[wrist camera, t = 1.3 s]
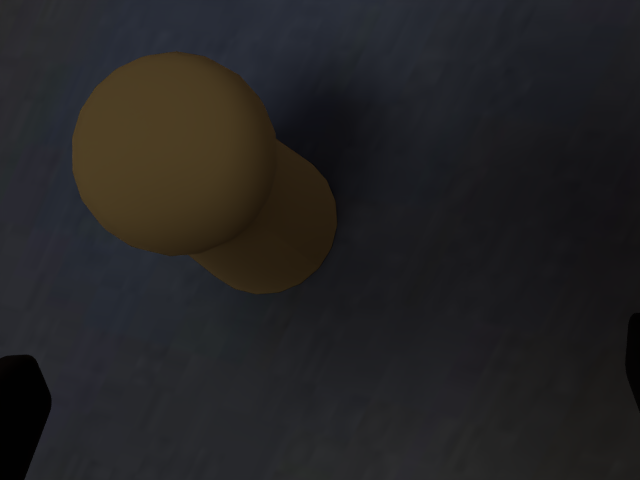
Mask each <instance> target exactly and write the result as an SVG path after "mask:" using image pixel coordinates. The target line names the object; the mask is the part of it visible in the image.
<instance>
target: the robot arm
mask: <svg viewBox="0 0 640 480" xmlns="http://www.w3.org/2000/svg"><path fill="white" fill-rule="evenodd" d="M625 366H626V374H627V378H628V381H629V384H630V386H631V389H632V392H633V395H634V398H635V400H636V403H637V406H638V409H639V411H640V313H634V314H633V315H632V316H631V318H630V320H629V324H628V336H627V348H626V359H625ZM50 410H51V394H50V392H49V389H48V387H47V384H46V382H45V380H44V377H43V375H42V372H41V370H40V368H39V365H38V363H37V361H36V359H35V358H34V357H32V356H30V355H11V356H5V357H2V358H0V480H24V479H25V476H26V474H27V471H28V468H29V466H30V463H31V461H32V458H33V455H34V453H35V450H36V447H37V445H38V442H39V439H40V437H41V434H42V431H43V429H44V426H45V424H46V421H47V418H48V416H49V413H50Z"/></svg>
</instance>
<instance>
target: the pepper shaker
mask: <svg viewBox="0 0 640 480" xmlns="http://www.w3.org/2000/svg"><path fill="white" fill-rule="evenodd" d="M72 144H73V174H74V178H75V181H76V184H77V187H78V190H79V193H80V196H81V199H82V201H83V202H84V203H85V205H86V206H87V207H88V209H89V210H90V211H91V212H92V214H93V215H94V216H95V218H96V219H97V220H98V222H99V223H100V224H101V225H102V226H103V227H104V228H105V229H106V230H107V231H109V232H110V233H112V234H113V235H115V236H116V237H118V238H119V239H121V240H122V241H124V242H125V243H127V244H128V245H130V246H132V247H135V248H139V249H143V250H147V251H151V252H155V253H159V254H164V255H168V256H177V255H187V254H188V255H189V256H190V257H192V258H193V259H194V260H195V261H197V262H198V263H199V264H200V265H202V266H203V267H204V268H205V269H207V270H208V271H209V272H210V273H212V274H213V275H214V276H215V277H217V278H218V279H220V280H222V281H223V282H225V283H226V284H228V285H229V286H231V287H232V288H234V289H237V290H241V291H245V292H249V293H253V294H265V293H278V292H282V291H284V290H286V289H289V288H291V287H293V286H296V285H298V284H300V283H302V282H303V281H304V280H305V279H307V278H308V277H309V276H310V275H311V274H312V273H314V272H315V271H316V270H317V269H318V268H319V267H320V266H321V264H322V262H323V261H324V259H325V257H326V256H327V254H328V253H329V251H330V249H331V248H332V244H333V240H334V236H335V232H336V228H337V214H336V201H335V199H334V197H333V194H332V192H331V189H330V187H329V185H328V182H327V180H326V179H325V178H324V177H323V176H322V175H321V173H320V172H319V171H318V170H317V169H316V168H315V167H314V166H313V164H312V163H310V162H309V161H307V160H306V159H304V158H303V157H301V156H300V155H299V154H297V153H296V152H294V151H293V150H291V149H290V148H288V147H287V146H286V145H284V144H283V143H281V142H280V141H278V140H277V139H276V134H275V131H274V128H273V126H272V123H271V121H270V118H269V116H268V114H267V111H266V109H265V106H264V105H263V103H262V101H261V100H260V98H259V97H258V96H257V94H256V93H255V92H254V91H253V90H252V89H251V88H250V87H249V85H248V84H247V83H246V82H245V81H244V80H243V79H242V78H241V76H240V75H238V74H236V73H234V72H233V71H231V70H229V69H227V68H225V67H224V66H222V65H220V64H218V63H216V62H215V61H213V60H211V59H209V58H207V57H205V56H200V55H194V54H188V53H182V52H177V51H176V52H169V53H162V54H155V55H148V56H144V57H141V58H139V59H137V60H134V61H132V62H130V63H128V64H126V65H124V66H122V67H119V68H117V69H116V70H115V71H113V72H112V73H111V74H110V75H109V76H108V77H107V78H105V79H104V80H103V81H102V82H101V83H100V84H99V85H97V86H96V87H95V89H94V90H93V92H92V93H91V95H90V97H89V98H88V100H87V101H86V103H85V104H84V106H83V107H82V109H81V110H80V114H79V117H78V120H77V124H76V127H75V130H74V134H73V137H72Z"/></svg>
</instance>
